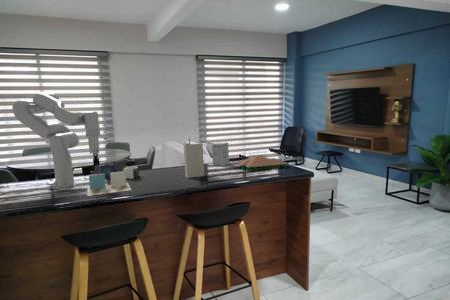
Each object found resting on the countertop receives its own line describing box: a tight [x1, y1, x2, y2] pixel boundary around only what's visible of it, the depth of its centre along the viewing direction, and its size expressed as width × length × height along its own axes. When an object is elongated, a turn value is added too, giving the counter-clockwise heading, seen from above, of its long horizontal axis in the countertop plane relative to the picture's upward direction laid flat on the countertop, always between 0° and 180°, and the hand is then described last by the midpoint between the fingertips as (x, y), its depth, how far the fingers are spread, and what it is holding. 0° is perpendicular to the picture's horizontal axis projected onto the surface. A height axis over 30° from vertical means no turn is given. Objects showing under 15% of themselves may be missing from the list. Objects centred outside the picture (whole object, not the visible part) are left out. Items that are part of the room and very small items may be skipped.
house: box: [237, 155, 289, 171], centre depth 217 cm, size 23×33×8 cm
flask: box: [98, 161, 115, 180], centre depth 197 cm, size 9×3×11 cm, turn 110°
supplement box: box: [211, 141, 230, 167], centre depth 228 cm, size 10×9×17 cm
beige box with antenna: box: [183, 138, 205, 179], centre depth 195 cm, size 8×12×26 cm
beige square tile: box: [109, 170, 127, 187], centre depth 172 cm, size 8×2×8 cm, turn 114°
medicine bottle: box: [122, 159, 140, 180], centre depth 193 cm, size 7×7×12 cm
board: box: [86, 182, 132, 197], centre depth 167 cm, size 22×18×1 cm
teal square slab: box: [88, 173, 107, 190], centre depth 168 cm, size 8×2×8 cm, turn 114°
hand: (96, 165), depth 172 cm, fingers closed
